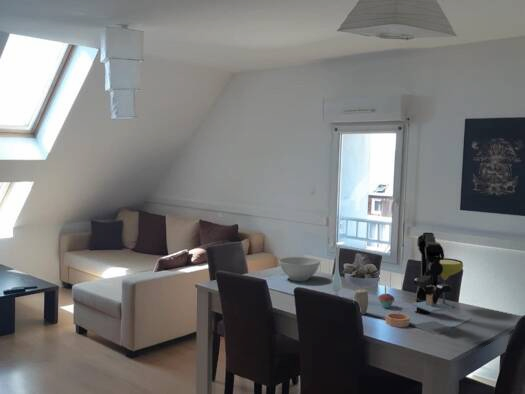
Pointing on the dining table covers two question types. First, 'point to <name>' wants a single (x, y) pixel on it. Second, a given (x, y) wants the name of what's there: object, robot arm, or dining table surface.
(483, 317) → the dining table surface
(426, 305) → the cover
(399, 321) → the bowl
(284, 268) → the decorative bowl
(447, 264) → the cocktail glass
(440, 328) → the mat
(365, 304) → the carving
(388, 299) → the cupcake
